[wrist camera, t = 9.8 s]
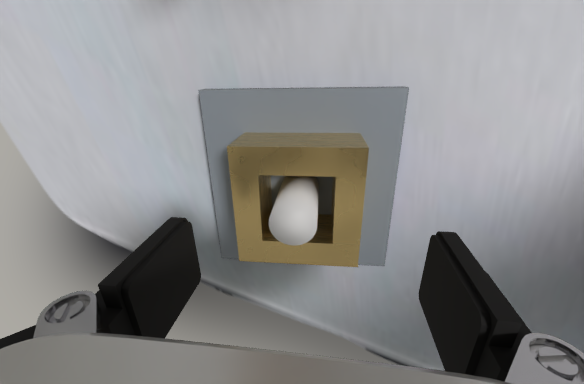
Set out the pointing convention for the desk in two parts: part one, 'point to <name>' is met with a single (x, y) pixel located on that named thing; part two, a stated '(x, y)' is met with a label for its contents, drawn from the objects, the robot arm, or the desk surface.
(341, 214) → the collar
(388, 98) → the post plate
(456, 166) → the desk surface
